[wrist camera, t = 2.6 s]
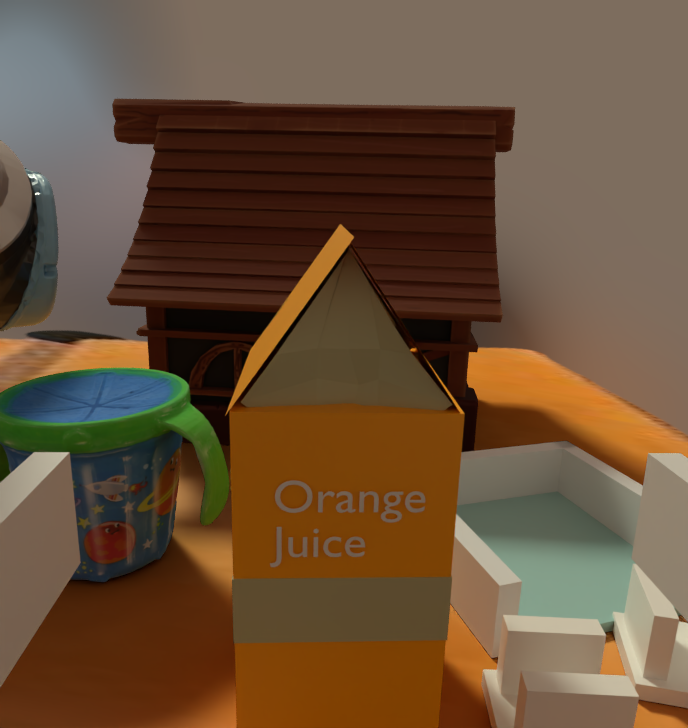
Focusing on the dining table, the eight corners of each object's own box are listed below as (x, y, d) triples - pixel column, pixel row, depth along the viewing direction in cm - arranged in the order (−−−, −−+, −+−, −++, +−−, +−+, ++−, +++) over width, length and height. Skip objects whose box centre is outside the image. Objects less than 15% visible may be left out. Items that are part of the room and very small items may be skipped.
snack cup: (-64, 562, 36) (-92, 395, 33) (79, 487, 45) (66, 353, 42) (150, 645, 30) (137, 449, 27) (264, 539, 39) (263, 386, 36)
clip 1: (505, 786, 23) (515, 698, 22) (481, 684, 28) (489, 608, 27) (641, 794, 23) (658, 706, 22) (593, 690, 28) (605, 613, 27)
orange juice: (404, 619, 32) (429, 225, 27) (438, 773, 23) (485, 240, 18) (253, 621, 31) (247, 221, 26) (231, 779, 23) (217, 234, 18)
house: (469, 380, 74) (491, 124, 66) (508, 488, 47) (553, 74, 39) (186, 366, 77) (176, 118, 69) (68, 459, 50) (29, 68, 42)
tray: (383, 514, 42) (386, 460, 41) (560, 489, 47) (566, 440, 46) (491, 658, 29) (499, 585, 28) (722, 605, 34) (736, 540, 33)
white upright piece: (758, 720, 26) (778, 641, 25) (632, 698, 27) (647, 621, 26) (716, 640, 31) (731, 571, 30) (610, 624, 32) (622, 556, 31)
